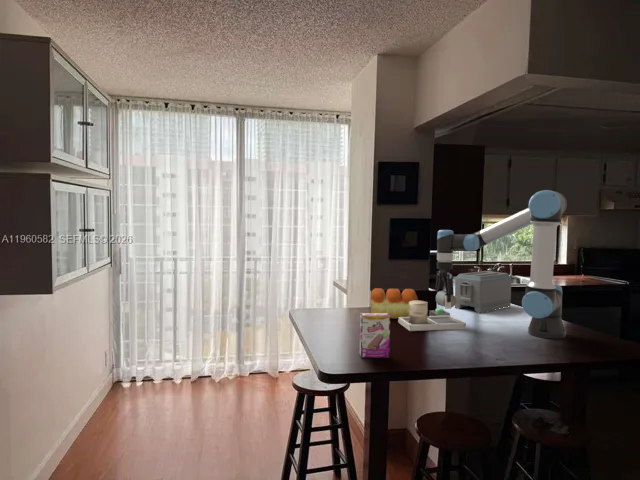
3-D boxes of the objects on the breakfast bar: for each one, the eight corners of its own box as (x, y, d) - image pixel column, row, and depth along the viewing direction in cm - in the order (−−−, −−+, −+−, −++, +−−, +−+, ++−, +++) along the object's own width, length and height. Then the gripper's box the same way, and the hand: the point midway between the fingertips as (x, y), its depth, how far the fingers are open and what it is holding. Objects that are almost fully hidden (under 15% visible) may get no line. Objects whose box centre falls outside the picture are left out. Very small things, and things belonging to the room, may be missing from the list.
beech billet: (429, 324, 209) (430, 304, 208) (411, 325, 208) (411, 304, 208) (424, 320, 218) (424, 300, 217) (406, 320, 217) (406, 300, 217)
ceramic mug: (444, 308, 210) (444, 293, 210) (435, 305, 218) (435, 290, 217) (462, 308, 213) (463, 292, 213) (453, 304, 221) (454, 289, 220)
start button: (444, 317, 228) (444, 310, 227) (437, 317, 227) (437, 310, 227) (441, 315, 232) (441, 308, 231) (434, 316, 231) (434, 308, 231)
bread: (415, 314, 240) (416, 287, 240) (417, 319, 228) (418, 291, 227) (370, 313, 244) (370, 287, 243) (370, 318, 231) (370, 290, 231)
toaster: (449, 308, 255) (450, 274, 254) (484, 302, 273) (484, 270, 272) (476, 314, 239) (477, 277, 238) (511, 307, 258) (512, 273, 257)
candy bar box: (360, 358, 164) (361, 315, 163) (359, 354, 169) (359, 312, 168) (390, 358, 164) (390, 315, 163) (387, 354, 169) (388, 312, 168)
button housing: (449, 319, 226) (449, 313, 226) (435, 320, 225) (435, 313, 225) (443, 316, 234) (443, 310, 234) (429, 317, 233) (429, 310, 233)
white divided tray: (465, 328, 208) (465, 323, 208) (409, 331, 204) (409, 325, 204) (450, 320, 224) (450, 315, 224) (398, 322, 220) (398, 317, 220)
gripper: (462, 263, 204) (461, 311, 205) (442, 259, 224) (442, 302, 226) (446, 263, 202) (446, 311, 204) (429, 259, 223) (428, 302, 225)
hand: (443, 306), depth 215 cm, fingers closed on ceramic mug, 8 cm apart
